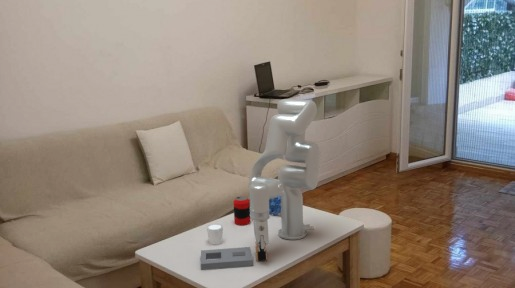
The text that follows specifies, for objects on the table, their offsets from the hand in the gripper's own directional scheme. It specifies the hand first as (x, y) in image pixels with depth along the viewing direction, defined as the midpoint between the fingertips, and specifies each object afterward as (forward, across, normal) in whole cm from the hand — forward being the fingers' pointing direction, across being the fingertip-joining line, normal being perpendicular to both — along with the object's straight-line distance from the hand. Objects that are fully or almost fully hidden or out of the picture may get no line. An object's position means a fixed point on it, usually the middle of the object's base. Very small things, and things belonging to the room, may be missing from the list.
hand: (261, 257), depth 199 cm
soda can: (+1, +39, +5) cm, 39 cm away
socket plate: (+1, 0, +14) cm, 14 cm away
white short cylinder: (+1, +19, +18) cm, 26 cm away
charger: (0, 0, 0) cm, 0 cm away
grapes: (+1, +46, -12) cm, 48 cm away
